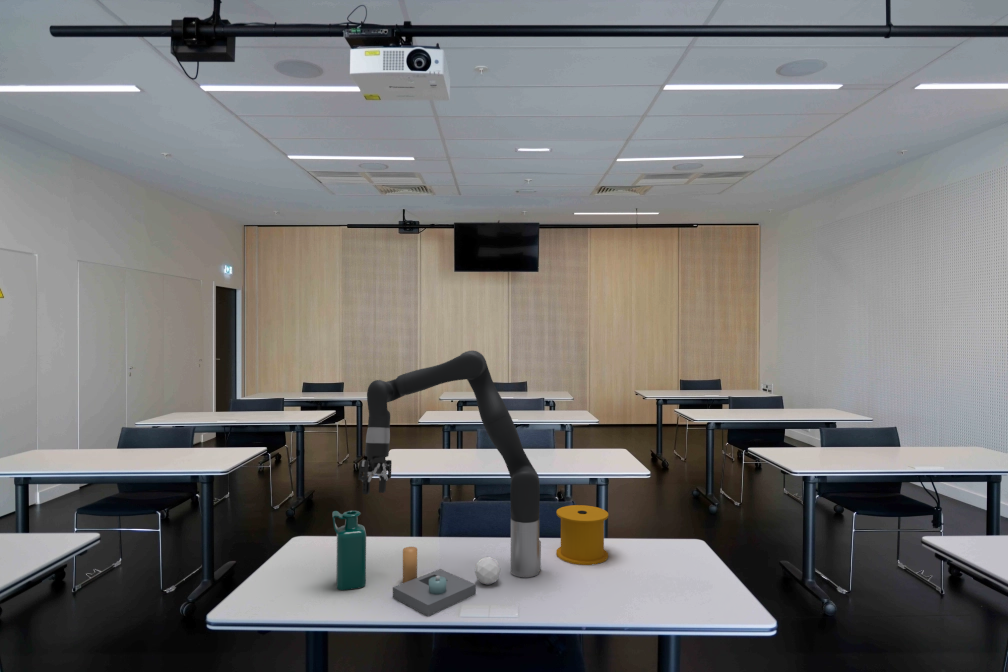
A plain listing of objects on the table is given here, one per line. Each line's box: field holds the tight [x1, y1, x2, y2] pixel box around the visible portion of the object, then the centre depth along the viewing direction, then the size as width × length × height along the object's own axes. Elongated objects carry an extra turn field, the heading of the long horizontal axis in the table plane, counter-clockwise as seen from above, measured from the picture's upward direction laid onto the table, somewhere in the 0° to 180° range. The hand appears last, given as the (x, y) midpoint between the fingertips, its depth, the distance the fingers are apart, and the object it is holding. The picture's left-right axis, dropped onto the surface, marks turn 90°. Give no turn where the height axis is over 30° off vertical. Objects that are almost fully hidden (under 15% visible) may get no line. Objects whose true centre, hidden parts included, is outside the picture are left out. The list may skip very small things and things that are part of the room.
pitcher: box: [332, 510, 367, 591], centre depth 169 cm, size 10×8×22 cm
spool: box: [555, 504, 609, 566], centre depth 194 cm, size 18×18×15 cm
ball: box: [474, 556, 501, 586], centre depth 170 cm, size 8×8×8 cm
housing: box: [392, 568, 477, 617], centre depth 161 cm, size 18×16×7 cm
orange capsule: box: [402, 546, 418, 583], centre depth 171 cm, size 4×4×10 cm
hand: (374, 493), depth 177 cm, fingers open, 8 cm apart
